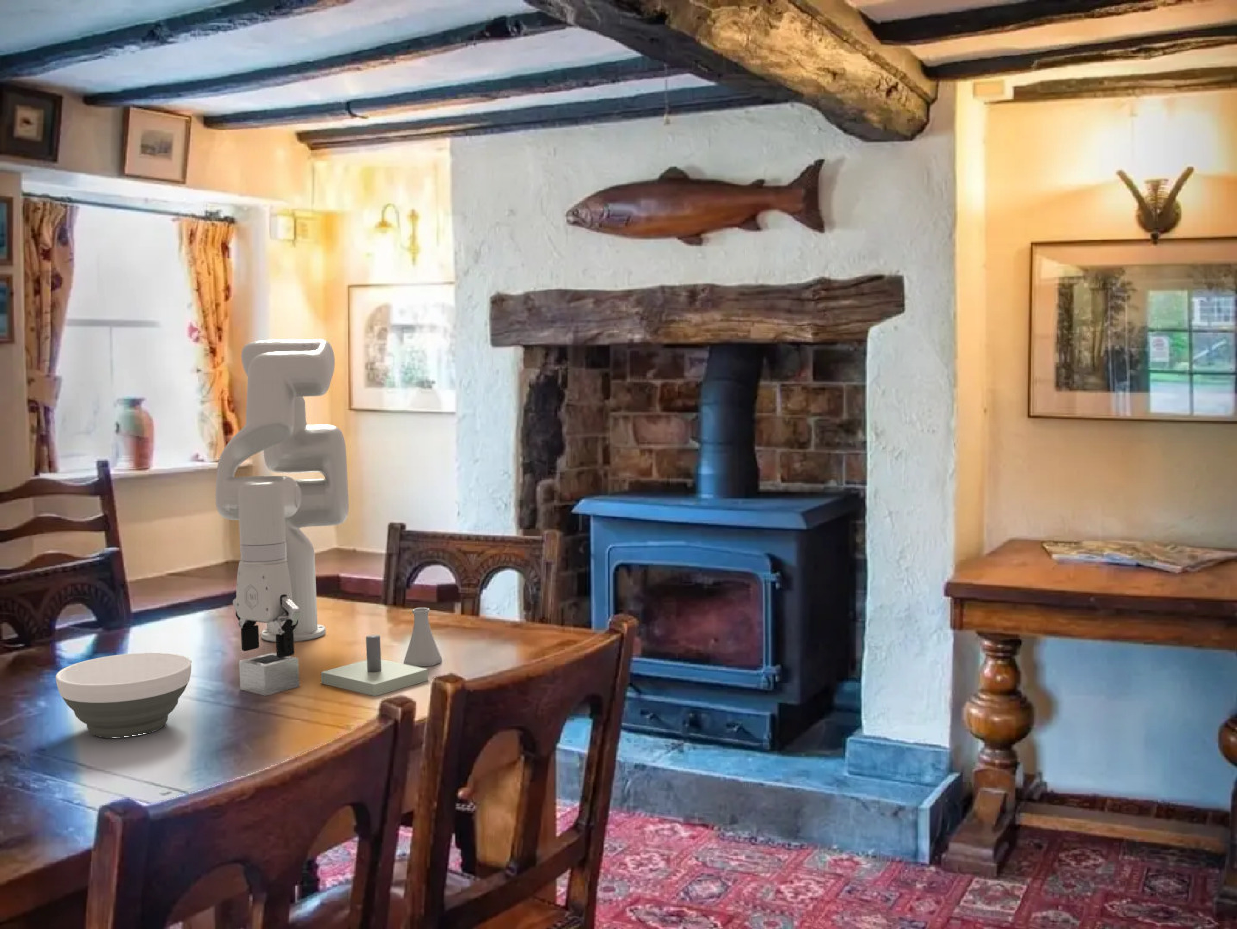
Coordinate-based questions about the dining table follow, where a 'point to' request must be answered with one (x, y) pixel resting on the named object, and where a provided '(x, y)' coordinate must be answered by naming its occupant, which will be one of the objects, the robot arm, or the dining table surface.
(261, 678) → the white square ring
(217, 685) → the dining table surface
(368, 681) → the keeper
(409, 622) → the dining table surface
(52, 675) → the dining table surface
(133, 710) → the bowl
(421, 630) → the flask
